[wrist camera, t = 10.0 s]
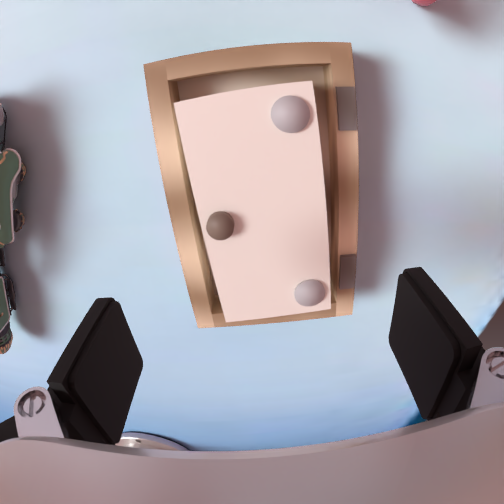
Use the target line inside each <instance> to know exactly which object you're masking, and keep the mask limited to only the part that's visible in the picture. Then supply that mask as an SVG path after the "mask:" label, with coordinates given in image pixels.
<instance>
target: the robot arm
mask: <svg viewBox="0 0 504 504" xmlns="http://www.w3.org/2000/svg"><path fill="white" fill-rule="evenodd" d="M389 344H390V347H391V349H392V351H393V353H394V355H395V357H396V359H397V362H398V364H399V366H400V368H401V370H402V372H403V375H404V377H405V379H406V381H407V384H408V386H409V388H410V390H411V393H412V395H413V397H414V399H415V402H416V404H417V407H418V409H419V411H420V414H421V416H422V418H423V419H427V420H428V421H426V422H422V423H418V424H414V425H411V426H407V427H403V428H399V429H395V430H390V431H386V432H382V433H377V434H373V435H368V436H363V437H358V438H353V439H347V440H341V441H335V442H329V443H322V444H315V445H307V446H299V447H289V448H279V449H266V450H249V451H189V450H188V449H186V448H185V447H183V446H181V445H179V444H177V443H175V442H172V441H170V440H167V439H164V438H161V437H157V436H154V435H149V434H144V433H133V432H128V433H122V432H123V429H124V425H125V422H126V419H127V415H128V412H129V409H130V406H131V402H132V399H133V396H134V393H135V390H136V387H137V383H138V380H139V377H140V374H141V371H142V368H143V360H142V357H141V355H140V352H139V350H138V348H137V345H136V343H135V341H134V338H133V336H132V333H131V331H130V328H129V326H128V323H127V321H126V318H125V316H124V313H123V311H122V308H121V305H120V303H119V302H117V301H115V300H114V298H112V297H111V298H98V299H96V300H95V302H94V303H93V305H92V306H91V308H90V309H89V311H88V312H87V314H86V316H85V317H84V319H83V320H82V322H81V324H80V325H79V327H78V328H77V330H76V332H75V333H74V335H73V337H72V338H71V340H70V342H69V343H68V345H67V347H66V348H65V350H64V352H63V353H62V355H61V357H60V359H59V360H58V362H57V364H56V366H55V367H54V369H53V371H52V373H51V375H50V376H49V378H48V380H47V383H48V384H49V388H48V390H46V389H45V388H43V387H32V388H29V389H27V390H25V391H24V392H23V393H22V394H21V395H19V397H18V398H17V400H16V401H15V404H14V416H13V417H11V418H9V419H7V420H5V421H4V422H2V423H0V504H504V348H501V347H494V348H491V349H488V350H487V351H486V352H485V350H484V349H483V347H482V343H481V341H480V340H479V339H478V337H477V336H476V334H475V333H474V332H473V330H472V329H471V328H470V326H469V325H468V324H467V322H466V321H465V320H464V319H463V317H462V316H461V315H460V313H459V312H458V311H457V310H456V308H455V307H454V306H453V305H452V303H451V302H450V301H449V300H448V298H447V297H446V296H445V295H444V293H443V292H442V291H441V290H440V289H439V287H438V286H437V285H436V284H435V283H434V281H433V280H432V279H431V278H430V277H429V275H428V274H427V273H426V272H425V271H424V270H423V269H422V268H421V267H416V268H408V269H405V270H404V271H403V274H400V275H399V278H398V284H397V291H396V298H395V304H394V310H393V316H392V322H391V327H390V332H389Z"/></svg>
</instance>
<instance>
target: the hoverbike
mask: <svg viewBox="0 0 504 504" xmlns="http://www.w3.org/2000/svg"><path fill="white" fill-rule="evenodd" d="M3 112H4V113H5V116H6V112H5V110H4V109H3V108H2V104H1V103H0V126H1V125H3V122H5V130H6V121H7V116H6V118H5V119H4V113H3ZM1 144H3V147H2V151H0V247H1V248H0V264H1V265H0V266H3V267H4V266H5V260H4V252H3V249H2V248H3V247H4V245H6V244H10V243H12V242H13V241H14V232H16V231H19V230H20V229H22V226H23V224H24V221H25V218H24V215H23V214H22V213H20V212H19V211H18V210H17V209H16V210H13V202H14V200H15V198H16V197H17V184H19V183H20V182H21V181H22V180H23V177H24V175H25V173H26V168H25V166H24V164H22V163H21V157H20V155H19V153H18V152H17V151H16V150H14V149H12V148H7V149H5V150H4V148H5V131H4V141H3V142H1V143H0V145H1ZM4 275H5V276H6V277H7V279H4V278H3V276H4ZM5 280H6V281H7V289H6V283H5ZM7 290H8V294H9V295H7ZM8 296H9V299H10V305H11V308H10V305H9V300H8ZM10 309H11V310H10ZM13 309H14V310H16V305H15V292H14V287H13V283H12V281H11V279H10V278H9V277H8V276H7V275H6V274H2V275H1V273H0V354H4V353H6V352H7V351H8V350H9V348H10V347H11V343H12V339H13V337H12V336H13V335H12V332H11V329H10V322H9V320H10V315H11V311H12V310H13Z"/></svg>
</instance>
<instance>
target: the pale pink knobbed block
mask: <svg viewBox="0 0 504 504" xmlns="http://www.w3.org/2000/svg"><path fill="white" fill-rule="evenodd" d="M174 108H175V113H176V118H177V122H178V127H179V132H180V137H181V141H182V146H183V151H184V155H185V160H186V164H187V169H188V173H189V178H190V182H191V186H192V191H193V195H194V199H195V203H196V208H197V212H198V216H199V220H200V224H201V228H202V232H203V237H204V241H205V245H206V249H207V252H208V256H209V260H210V264H211V268H212V272H213V276H214V280H215V283H216V287H217V291H218V295H219V299H220V302H221V306H222V310H223V313H224V317H225V321H226V322H235V321H244V320H253V319H261V318H270V317H278V316H285V315H293V314H300V313H307V312H314V311H321V310H327V309H331V290H330V262H329V242H328V225H327V211H326V198H325V185H324V174H323V164H322V154H321V145H320V136H319V127H318V119H317V111H316V103H315V96H314V89H313V82H312V81H303V82H292V83H283V84H275V85H267V86H260V87H253V88H246V89H240V90H234V91H228V92H223V93H217V94H212V95H207V96H202V97H198V98H193V99H189V100H184V101H180V102H176V103H174Z"/></svg>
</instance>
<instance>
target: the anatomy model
mask: <svg viewBox="0 0 504 504" xmlns="http://www.w3.org/2000/svg"><path fill="white" fill-rule="evenodd" d="M435 1H436V0H412V2H413V3H416V4H418V5H420V6H428V5H430V4H433V3H434V2H435Z"/></svg>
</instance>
